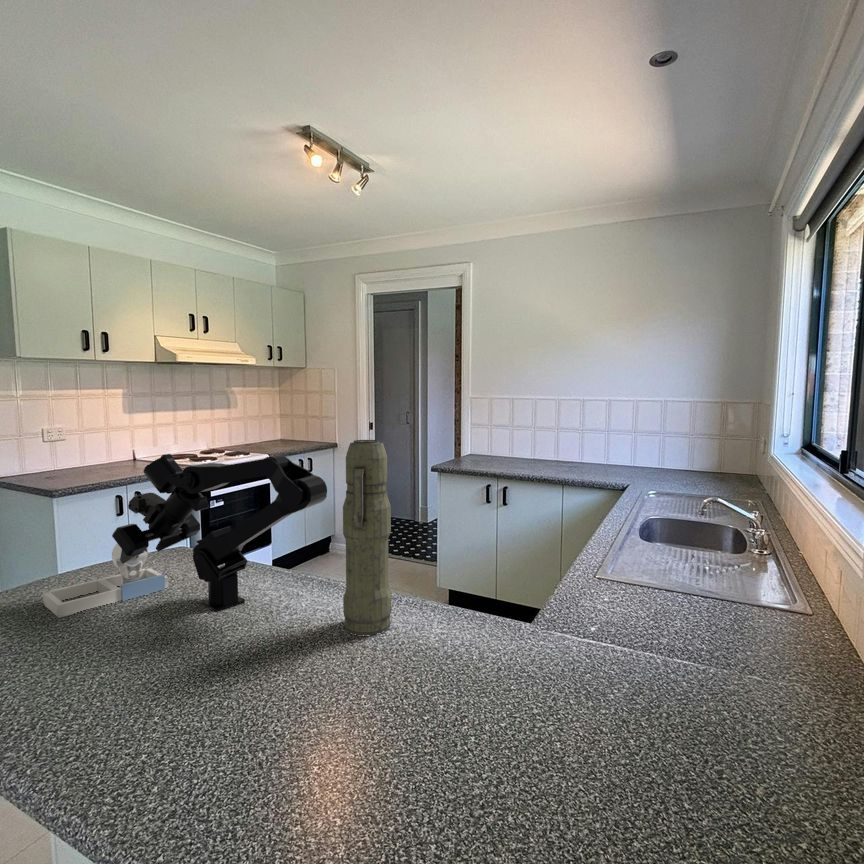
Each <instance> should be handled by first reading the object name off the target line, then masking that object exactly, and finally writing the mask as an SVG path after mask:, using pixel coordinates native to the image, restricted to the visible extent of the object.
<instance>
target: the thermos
mask: <svg viewBox="0 0 864 864" xmlns="http://www.w3.org/2000/svg"><path fill="white" fill-rule="evenodd" d="M345 455H346V456H345V484H346V491H345V497H344V498H345V499H344V502H343V505H342V535H343V537H344V539H345V592H344V594H343V597H342V599H343V600H342V601H343V602H342V603H343V604H342V606H343V607H342V608H343V617H344V624H343V625H344V626H343V627H344V630H345V631H346V632H347V631H348V632H349V633H348V632H347V633H348V634H350V633H352V634H356V635H355V636H357V635H373V636H375V635H374V634H377V633H381V634H383V633H384V632H383V631H385V632H387V631H388V630H389V629H390V628H391V623H392V621H391V613H392V592H391V588H390V585H389V537H390V535H391V533H392V532H391V531H392V529H391V528H392V527H391V525H392V524H391V523H392V516H391V513H392V509H391V507H392V506H391V503H390V500H389V497H388V489H387V483H388V454H387V451H386V449H385V445H384V442H383V441H382V442H381V441H380V440H378V439H356V440H353V442H350V443H349V446H348V447H347V451H346V454H345ZM389 627H390V628H389ZM388 628H389V629H388ZM386 630H387V631H386ZM382 632H383V633H382ZM352 634H351V635H352Z"/></svg>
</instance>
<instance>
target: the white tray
mask: <svg viewBox="0 0 864 864" xmlns="http://www.w3.org/2000/svg"><path fill="white" fill-rule="evenodd" d="M139 577H140V579H139V580H138V581H134V582H130V583H126V584H123V583H122V582H123V581H122V579H123V578H122V577H121V574H114V575H111V576H106V577H103V578H98V579H94V580H90V581H89V580H88V581H86V582H81V583H77V584H72V585H69V586H68V585H67V586H65V587H64V586H63V587H60V588H56V589H52V590H51V589H50V590H48V591H47V590H46V591H42V603H43V604H42V605H44V606H45V608H47V609H48V610H50V611H51V613H53V615H55V616H56V617H58V618H59V619H60V618H63V617H68V616H71V615H75V614H78V613H77V612H79V613H81V612H80V611H82V612H84V611H83V610H86V609H90V608H94V607H97V608H99V607H98V606H101V607H103V606H102V605H105V606H107V605H106V604H108V605H111V604H110V603H112V604H115V602H116V603H118V601H119V602H126V601H125V600H127V601H129V600H128V599H130V600H133V599H132V598H134V599H137V598H136V597H138V598H140V597H139V596H142V597H144V596H143V595H145V596H147V595H146V594H149V595H151V594H150V593H153V592H156V591H159V590H163V589H165V588H167V587H168V588H169V577H168V576H166V575H165V574H163V573H161V572H159V571H156V570H154V569H152V568H150V567H145V568H141V573H140V575H139ZM117 586H120V587H117ZM168 588H167V589H168ZM165 590H166V589H165ZM96 591H98V592H99V593H98V592H96ZM91 592H96V593H94V594H90V595H86V596H82V597H80V598H79V597H78V598H77V597H76V596H79V595H83V594H87V593H91ZM156 593H157V592H156ZM153 594H154V593H153ZM72 597H76V599H75V598H74V599H73V598H72ZM69 598H72V600H71V599H69ZM65 599H68V600H65ZM62 600H64V602H63V601H62ZM121 600H122V601H121ZM94 609H95V608H94ZM90 610H91V609H90ZM86 611H87V610H86ZM74 613H75V614H74Z"/></svg>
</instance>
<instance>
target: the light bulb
mask: <svg viewBox="0 0 864 864" xmlns="http://www.w3.org/2000/svg"><path fill="white" fill-rule="evenodd" d="M121 551H122V549H121V547H120V546H119V545H118V543H117V542H116V544H115V546H114V547H113V549H112V551H111V560H112V562H113V564H114V565H115V566H116V568H117V569H118V570H119V573H120V574H121V577H122V578H123V579H122V581H123V582H122V583H123V584H126V583H130V582H134V581H138V580H139V579H140V577H139V575H140V573H141V569H143V565H144V563H145V562H146V561H147V558H148V554H149V549H148V547H147V549H146V550H144V553H142V554H140V555H138V556H137V557H135V558H133V559H131V560H129V561H128V562H126V563H122V562H121V561H120V557H121Z"/></svg>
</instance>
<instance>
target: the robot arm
mask: <svg viewBox="0 0 864 864" xmlns="http://www.w3.org/2000/svg"><path fill="white" fill-rule="evenodd" d="M143 474H144V475H145V477H146V478H147V479H148V480H149V482H150V483H151V484H152V486H153V487H154V488H155V489H156V490H157V491H158V493H160V494H169V496H168V497H167V498H166V499H165V498H163V497H162V496H160V495H158V494H157V493H155V492H146V493H142V494H136V496H133V497H132V498H131V499H130V500H129V501H128V505H127V507H128V510H130V512H133V513H134V514H138V513H139V514H140V515H142V516H143V517H144V518H143V519H142V521H143V522H144V523H145V525H148V529H146V530H145V529H144V530H142V529H141V528H140V527H139V526H138V524H137V523H130V524H129V523H128V524H126V525H122V526H118V527H116V528H115V530H114V531H113V533H112V536H111V537H112V538H113V539H114V540H115V542H116V544H117V543H118V545H119V546H120V547H121V549H122V551H121V557H120V561H121V562H122V563H126V562H128V561H129V560H131V559H133V558H135V557H137V556H138V555H140V554H142V553H144V550H146V549H147V548H148V547H149V546H150V544H149V542H152V541H155V540H159V541H158V543H157V545H156V547H155V550H156V551H157V552H161V551H163V550H166V549H168V548H169V547H172V546H174V545H176V544H178V543H180V542H182V541H186V540H187V539H190V538H192V537H194V536H196V535H197V534H198V533H199V532H200V531H201V523H200V522H199V521H198V520H197V518H196V517H195V516H194V514H193V512H194V511H195V512H199V511H204V510H207V509H209V507H210V505H209V502H208V497H207V496H204V495H203V494H202V493H203V492H208V491H212V490H216V489H218V488H221V487H224V486H226V485H228V484H229V483H234V482H240V481H241V482H242V481H248V480H254V479H260V478H266V479H268V480H269V481H270V483H271V484H272V487H273V489H274V491H276V492H275V493H277V496H276V498H275V499H274V500H273V501H272V502H271V503H269V504H268V505H266V506H264V507H263V508H262V509H260V510H258V511H257V512H256V513H254V514H252V515H251V516H250V517H248V518H246V519H245V520H243V521H242V522H241V523H239V524H238V525H236V526H235V527H233V528H232V527H231V525H228V526H226V527H223V528H220V529H217V530H213V531H210V532H209V533H207V534H206V535H205V536H204V537H203V538H200V539H199V540H198V539H197V540H196V545H195V546H194V547H193V549H192V561H193V564H194V567H195V571H196V573H197V576H198V579H199V580H203V582H205V583H207V584H208V585H207V587H208V590H207V591H208V592H207V593H208V598H207V599H204V600H201V604H202V605H203V606H205V605H206V606H205V607H207V608H209V609H212V610H213V611H215V612H218V611H221V610H224V609H228V608H231V607H234V606H237V605H240V604H242V603H246V598H243V597H241V596H239V575H238V572H240V571H243V570H245V569H246V567H247V563H248V559H247V558H246V557H245V555H244V554H243V553H242V550H243V547H244V546H245V545H246V544H247V543H249V542H250V541H252V540H254V539H256V538H257V537H258V536H260V535H262V534H263V533H265V532H266V531H267V530H269V529H271V528H273V527H274V526H276V525H277V524H279V523H280V522H282V521H283V520H285V519H287V518H288V517H289V516H291V515H293V514H296V513H297V512H300V511H303V510H306V509H307V508H311V507H314V506H316V505H318V504H321V503H322V502H323V503H324V501H325V500H326V498H327V495H328V486H327V484H326V482H325V480H324V479H323V478H322V477H320V476H318V475H316V474H313V473H312V472H311V471H309V469H306V468H304V467H303V466H300V465H299V464H296V463H295V462H293V461H291V460H290V459H289V458H288V457H287V456H285V455H283V454H278V455H271V456H266V457H265V458H262V459H255V460H250V461H245V462H237V463H233V464H229V463H228V464H227V463H221V462H220V463H219V462H218V463H217V462H208V463H202V464H196V465H195V464H194V465H189V466H186V467H184V468H182V467H181V466H180V465H179V464H178V462H177V461H176V460H175V458H174V456H173V455H172V454H171V453H167V454H165V453H164V454H162V455H161V456H160V457H159V458H157V459H155V460H152V462H150V463H149V464H147V465H146V466H145V467H144V469H143ZM221 565H222V566H221ZM219 566H220V567H219Z"/></svg>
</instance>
